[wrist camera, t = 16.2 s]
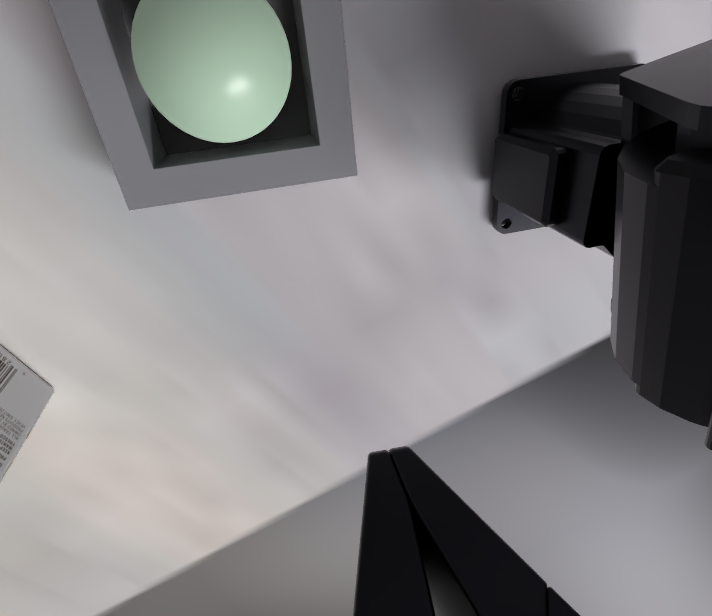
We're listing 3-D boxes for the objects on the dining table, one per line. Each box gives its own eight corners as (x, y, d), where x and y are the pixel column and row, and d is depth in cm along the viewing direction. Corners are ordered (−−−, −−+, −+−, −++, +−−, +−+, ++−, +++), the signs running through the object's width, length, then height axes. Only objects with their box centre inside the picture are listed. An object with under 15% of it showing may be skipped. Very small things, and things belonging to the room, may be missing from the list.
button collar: (316, -98, 14) (328, -127, 11) (344, 161, 18) (357, 175, 16) (48, -79, 13) (6, -108, 10) (144, 191, 17) (128, 210, 15)
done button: (272, -26, 14) (275, -42, 11) (295, 123, 16) (302, 132, 14) (128, -13, 13) (104, -27, 11) (174, 139, 15) (161, 151, 13)
